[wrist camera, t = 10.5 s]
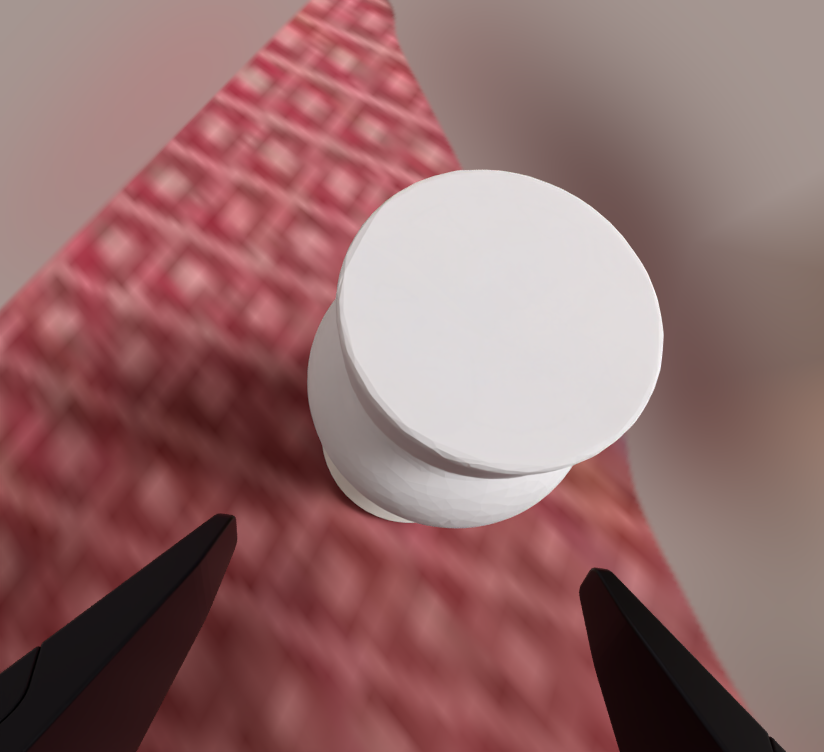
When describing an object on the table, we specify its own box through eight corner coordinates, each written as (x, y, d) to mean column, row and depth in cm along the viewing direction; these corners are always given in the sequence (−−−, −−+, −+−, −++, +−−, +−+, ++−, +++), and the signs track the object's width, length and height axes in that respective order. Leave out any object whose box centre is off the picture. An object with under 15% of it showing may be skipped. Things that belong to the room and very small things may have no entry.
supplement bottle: (311, 432, 17) (137, 281, 4) (409, 341, 19) (477, 57, 6) (414, 540, 16) (553, 720, 4) (507, 432, 18) (807, 306, 5)
